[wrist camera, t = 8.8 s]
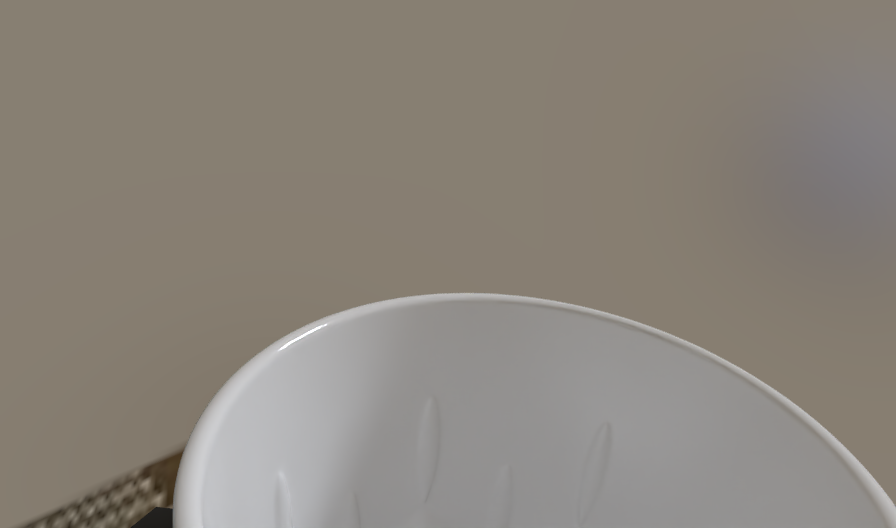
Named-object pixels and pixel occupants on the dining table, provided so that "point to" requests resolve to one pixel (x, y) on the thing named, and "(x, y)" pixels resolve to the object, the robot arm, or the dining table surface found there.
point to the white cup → (509, 429)
